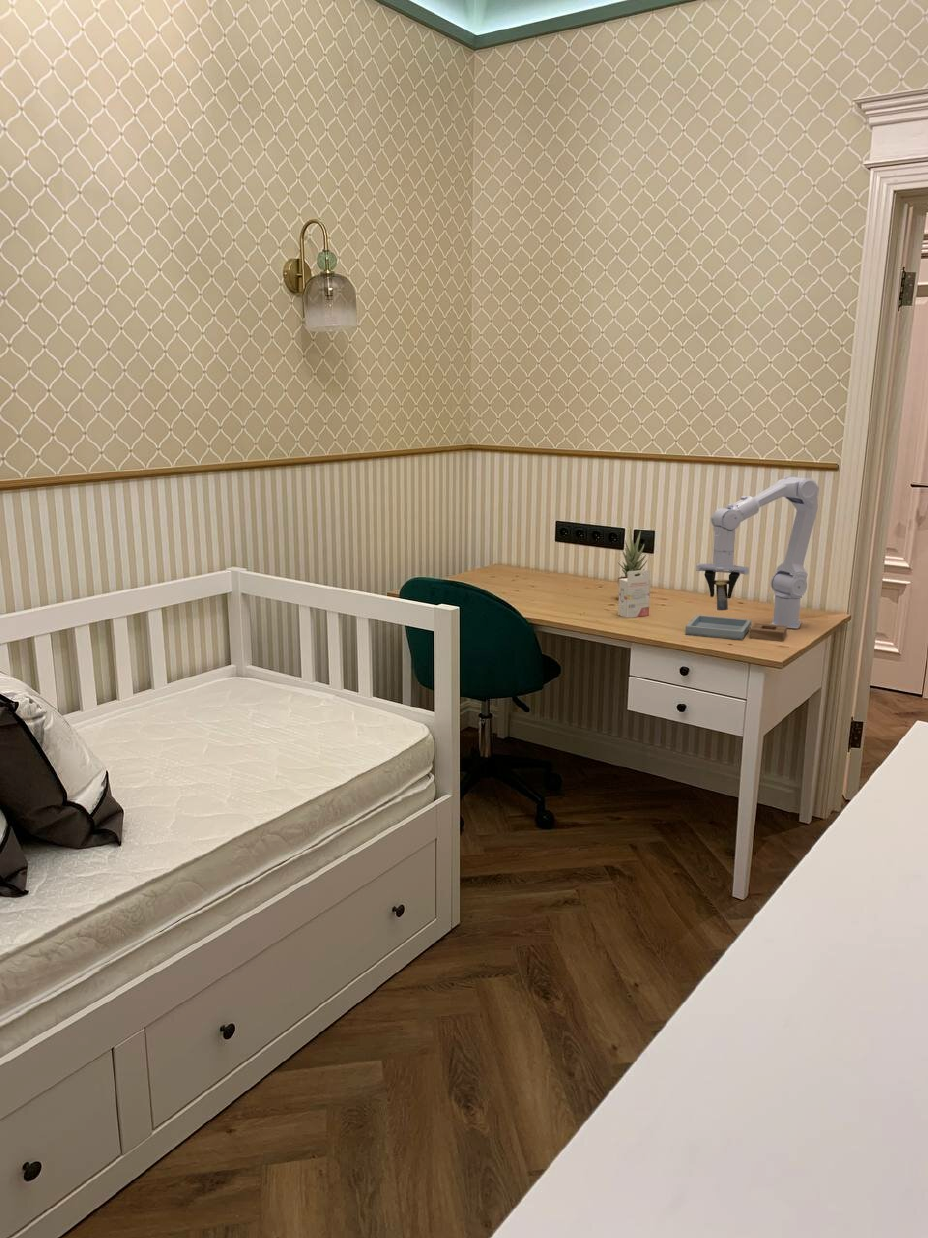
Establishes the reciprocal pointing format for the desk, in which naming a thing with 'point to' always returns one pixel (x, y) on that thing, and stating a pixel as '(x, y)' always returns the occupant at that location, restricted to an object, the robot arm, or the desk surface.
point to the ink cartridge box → (634, 594)
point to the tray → (718, 627)
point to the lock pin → (721, 594)
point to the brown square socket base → (768, 632)
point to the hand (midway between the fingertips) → (720, 597)
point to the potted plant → (632, 557)
